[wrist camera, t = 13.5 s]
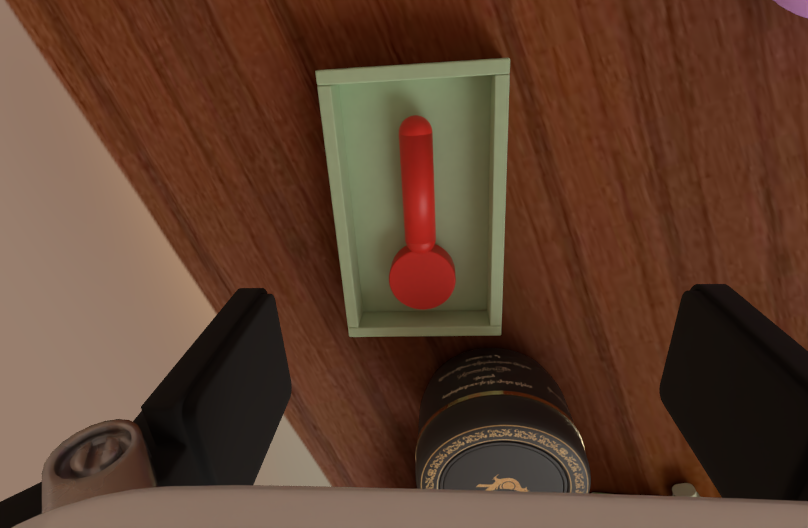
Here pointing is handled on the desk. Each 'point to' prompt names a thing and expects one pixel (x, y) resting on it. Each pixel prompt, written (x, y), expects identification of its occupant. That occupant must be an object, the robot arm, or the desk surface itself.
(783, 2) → the teapot
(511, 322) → the desk surface
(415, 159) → the red spoon
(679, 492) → the hook
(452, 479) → the jar
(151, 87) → the desk surface
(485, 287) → the tray
